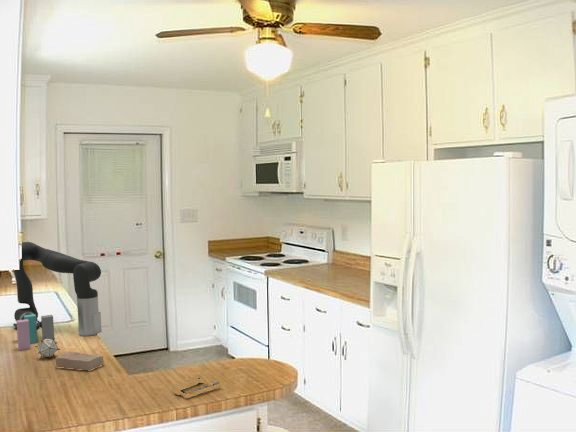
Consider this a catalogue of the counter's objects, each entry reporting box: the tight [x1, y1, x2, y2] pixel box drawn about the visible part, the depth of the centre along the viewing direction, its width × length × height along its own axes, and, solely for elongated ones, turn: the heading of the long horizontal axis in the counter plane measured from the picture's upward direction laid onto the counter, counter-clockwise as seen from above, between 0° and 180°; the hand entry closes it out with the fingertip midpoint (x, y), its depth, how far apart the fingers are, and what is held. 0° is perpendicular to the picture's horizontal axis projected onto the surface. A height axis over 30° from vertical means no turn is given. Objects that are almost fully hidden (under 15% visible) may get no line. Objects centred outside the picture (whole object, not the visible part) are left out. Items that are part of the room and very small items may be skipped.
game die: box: [34, 337, 61, 360], centre depth 232 cm, size 9×8×10 cm
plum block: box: [16, 319, 31, 351], centre depth 248 cm, size 4×4×12 cm
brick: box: [55, 351, 105, 370], centre depth 219 cm, size 17×8×5 cm, turn 69°
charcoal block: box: [40, 314, 56, 342], centre depth 255 cm, size 4×4×12 cm
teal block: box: [24, 314, 38, 344], centre depth 258 cm, size 4×4×12 cm
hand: (31, 328), depth 255 cm, fingers closed on teal block, 4 cm apart
